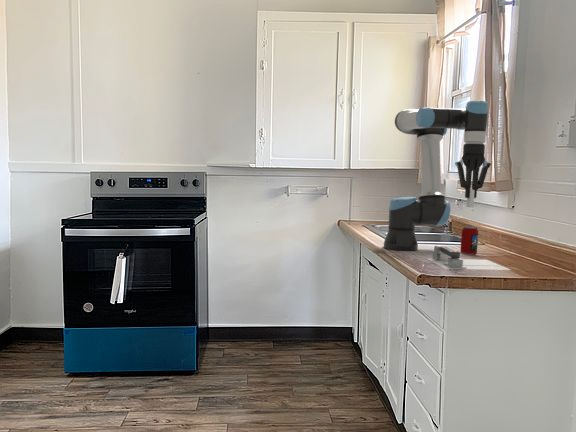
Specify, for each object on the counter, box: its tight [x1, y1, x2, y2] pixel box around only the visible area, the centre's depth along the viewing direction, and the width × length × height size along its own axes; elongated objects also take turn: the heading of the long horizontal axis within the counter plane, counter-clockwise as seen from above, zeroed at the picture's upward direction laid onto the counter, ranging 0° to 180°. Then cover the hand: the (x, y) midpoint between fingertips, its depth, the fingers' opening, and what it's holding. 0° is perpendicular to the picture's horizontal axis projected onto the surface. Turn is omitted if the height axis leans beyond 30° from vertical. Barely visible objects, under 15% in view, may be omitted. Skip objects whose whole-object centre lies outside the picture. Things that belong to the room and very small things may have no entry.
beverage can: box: [459, 225, 479, 255], centre depth 216 cm, size 7×7×12 cm
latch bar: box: [440, 246, 461, 258], centre depth 188 cm, size 16×3×2 cm, turn 1°
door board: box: [428, 258, 511, 271], centre depth 188 cm, size 20×24×1 cm
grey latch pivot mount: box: [444, 256, 467, 270], centre depth 182 cm, size 6×6×3 cm
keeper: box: [432, 245, 450, 261], centre depth 195 cm, size 4×5×5 cm
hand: (469, 206), depth 189 cm, fingers closed
